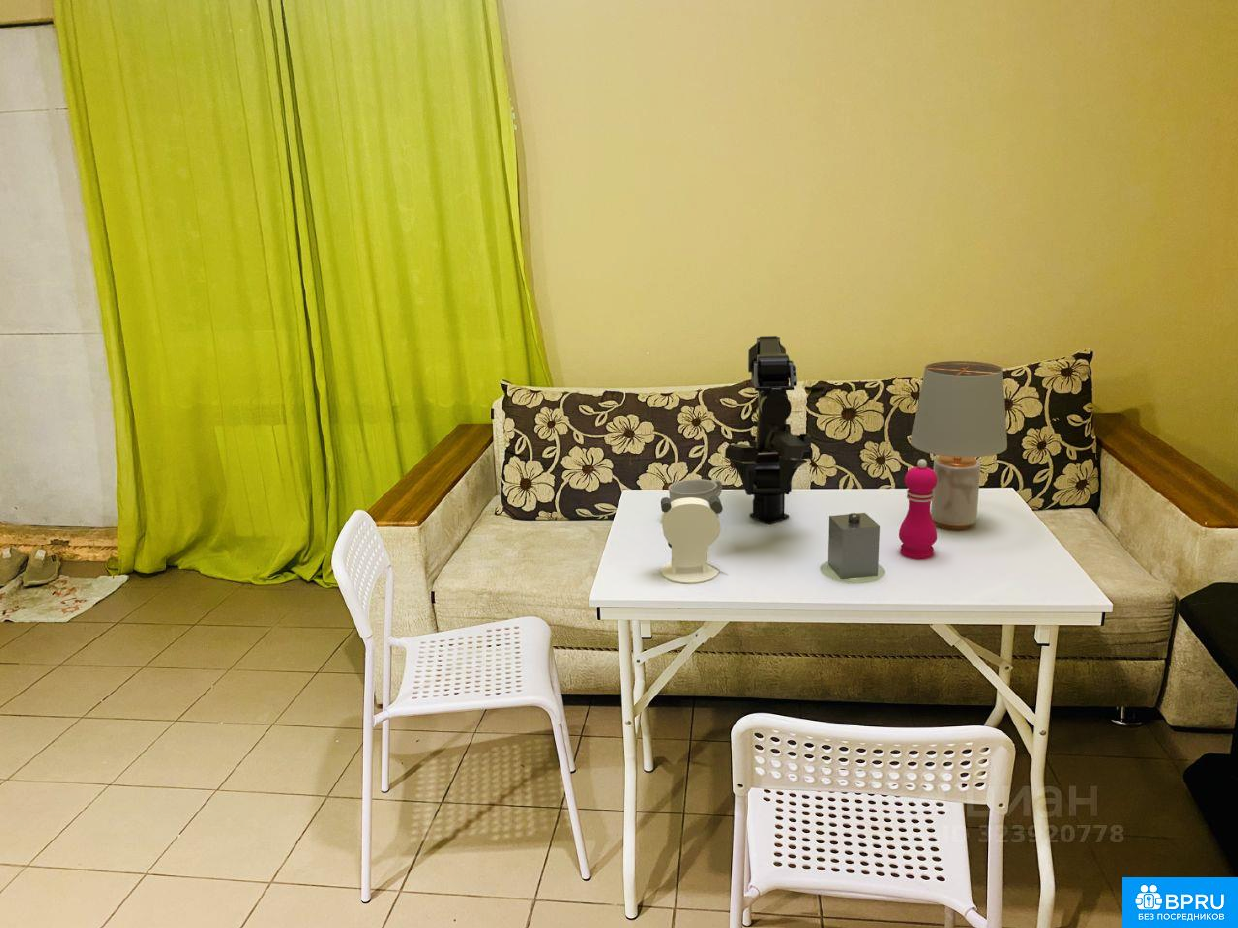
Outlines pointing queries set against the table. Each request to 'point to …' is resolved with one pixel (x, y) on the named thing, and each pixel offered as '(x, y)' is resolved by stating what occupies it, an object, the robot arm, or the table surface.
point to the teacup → (695, 489)
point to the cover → (853, 545)
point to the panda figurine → (690, 537)
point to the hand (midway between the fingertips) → (766, 493)
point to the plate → (832, 575)
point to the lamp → (959, 433)
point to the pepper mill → (919, 513)
